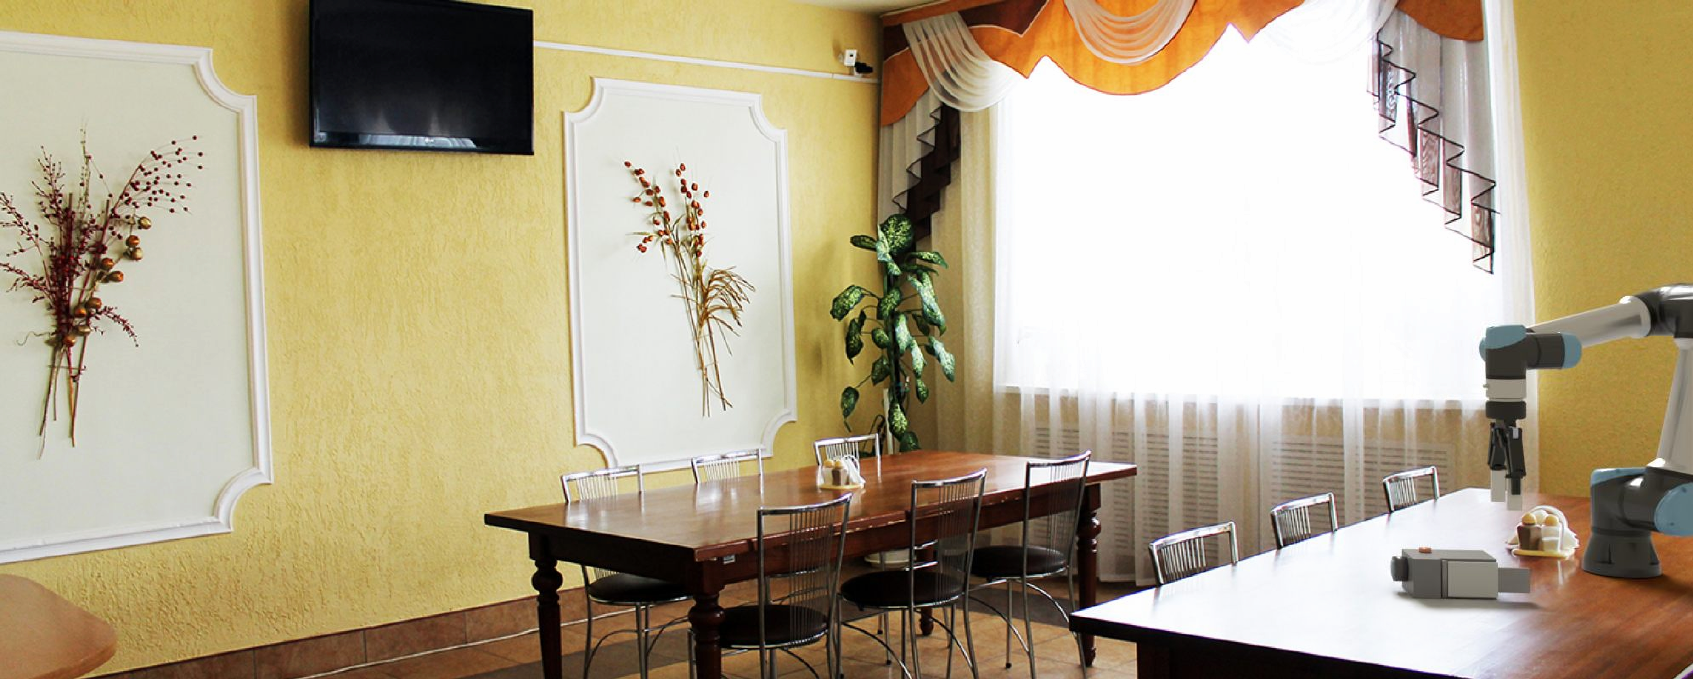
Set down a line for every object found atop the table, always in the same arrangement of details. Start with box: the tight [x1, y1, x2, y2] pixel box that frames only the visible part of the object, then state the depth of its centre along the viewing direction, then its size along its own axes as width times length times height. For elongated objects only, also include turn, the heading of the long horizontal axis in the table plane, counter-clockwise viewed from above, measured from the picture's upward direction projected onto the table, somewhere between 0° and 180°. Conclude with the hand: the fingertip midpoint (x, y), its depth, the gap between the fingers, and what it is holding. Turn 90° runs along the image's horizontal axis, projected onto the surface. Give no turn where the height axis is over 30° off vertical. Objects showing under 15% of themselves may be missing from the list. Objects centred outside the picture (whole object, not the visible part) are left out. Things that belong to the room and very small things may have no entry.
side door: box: [1441, 560, 1531, 599], centre depth 268 cm, size 16×1×8 cm, turn 79°
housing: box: [1389, 546, 1497, 600], centre depth 274 cm, size 19×11×9 cm, turn 79°
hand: (1506, 506), depth 273 cm, fingers open, 11 cm apart
